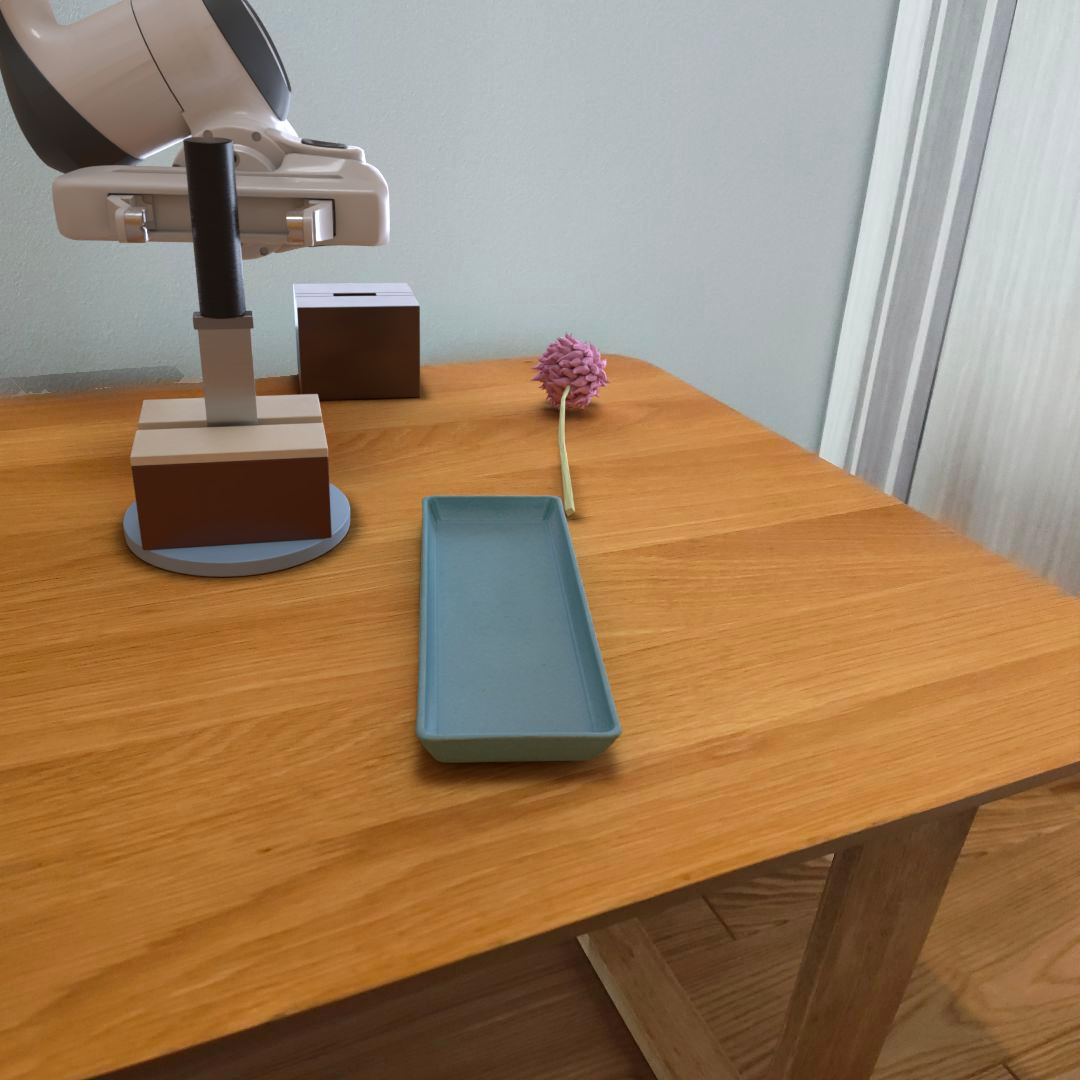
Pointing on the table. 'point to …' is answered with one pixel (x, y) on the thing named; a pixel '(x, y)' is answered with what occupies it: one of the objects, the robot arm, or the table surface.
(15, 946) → the table surface
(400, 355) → the knife block
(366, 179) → the robot arm
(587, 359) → the artificial flower
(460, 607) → the teal serving tray
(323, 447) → the cake
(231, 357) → the knife
